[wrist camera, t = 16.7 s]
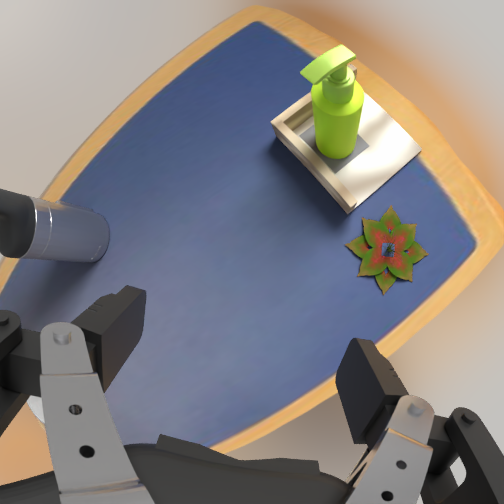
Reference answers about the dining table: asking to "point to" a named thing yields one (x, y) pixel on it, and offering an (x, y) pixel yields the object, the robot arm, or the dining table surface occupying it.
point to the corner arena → (362, 157)
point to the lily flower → (380, 234)
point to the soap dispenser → (335, 102)
